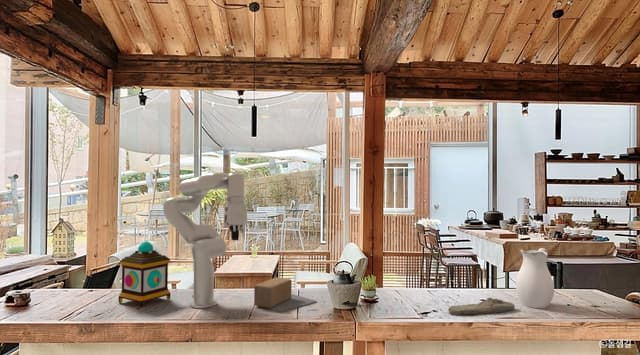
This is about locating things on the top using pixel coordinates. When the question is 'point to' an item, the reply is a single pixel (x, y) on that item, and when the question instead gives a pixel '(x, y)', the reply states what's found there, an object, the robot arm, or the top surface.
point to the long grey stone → (482, 307)
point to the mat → (292, 303)
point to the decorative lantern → (144, 275)
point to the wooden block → (272, 292)
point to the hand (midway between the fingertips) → (235, 239)
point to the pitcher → (534, 280)
